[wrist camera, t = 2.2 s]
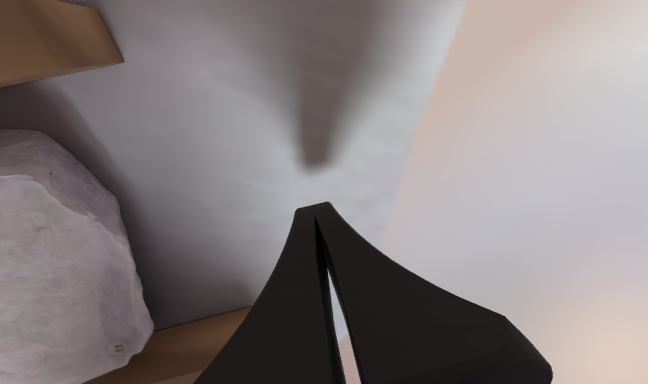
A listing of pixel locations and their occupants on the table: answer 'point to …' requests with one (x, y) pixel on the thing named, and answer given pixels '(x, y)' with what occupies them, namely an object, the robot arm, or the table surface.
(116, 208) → the stone block
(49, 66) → the wooden bar set
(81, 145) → the table surface
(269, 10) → the table surface
